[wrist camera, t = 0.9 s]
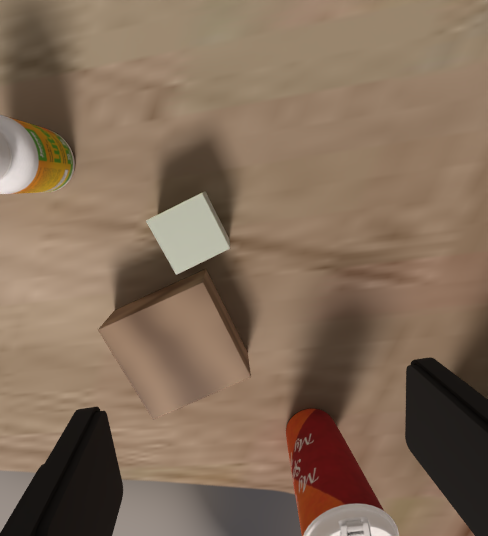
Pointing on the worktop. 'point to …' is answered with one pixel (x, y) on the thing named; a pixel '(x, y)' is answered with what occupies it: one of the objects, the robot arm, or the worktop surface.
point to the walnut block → (177, 345)
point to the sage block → (189, 233)
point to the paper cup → (331, 481)
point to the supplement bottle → (32, 158)
